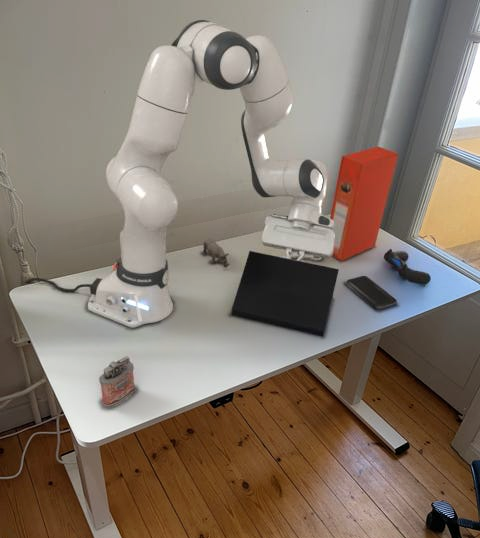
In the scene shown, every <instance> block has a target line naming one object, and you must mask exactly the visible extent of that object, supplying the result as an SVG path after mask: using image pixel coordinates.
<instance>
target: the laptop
mask: <svg viewBox="0 0 480 538" xmlns="http://www.w3.org/2000/svg"><path fill="white" fill-rule="evenodd" d="M333 299H334V296H333V297H332V301H331V305H330V308H331V306H332V302H333ZM330 310H331V309H330ZM330 310H329V312H330ZM329 315H330V313H329V314H328V316H329ZM231 316H232V317H237V318H241V319H246V320H249V321H254V322H258V323H263V324H267V325H272V326H276V327H281V328H285V329H289V330H293V331H296V332H297V331H298V332H301V333H306V334H311V335H315V336H318V337H324V334H325V331H322V330H317V329H313V328H309V327H304V326H300V325H295V324H291V323H287V322H282V321H278V320H274V319H269V318H265V317H261V316H256V315H252V314H248V313H243V312H239V311H235V310H232V309H231ZM328 319H329V317H328V318H327V320H328ZM327 322H328V321H327ZM327 322H326V324H327Z"/></svg>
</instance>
